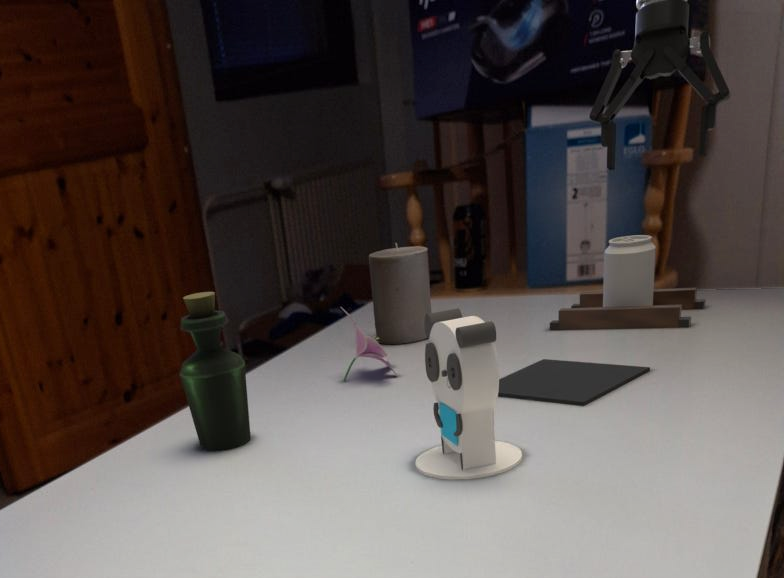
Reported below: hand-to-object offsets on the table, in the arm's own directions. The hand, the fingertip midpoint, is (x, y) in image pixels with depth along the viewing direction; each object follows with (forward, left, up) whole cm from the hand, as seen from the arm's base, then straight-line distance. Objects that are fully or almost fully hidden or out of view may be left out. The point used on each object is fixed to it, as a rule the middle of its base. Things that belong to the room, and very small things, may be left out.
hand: (655, 162), depth 145 cm
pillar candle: (+16, +38, -21) cm, 46 cm away
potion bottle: (-15, +82, -21) cm, 86 cm away
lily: (-2, +54, -21) cm, 58 cm away
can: (-6, +10, -21) cm, 24 cm away
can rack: (-6, +10, -21) cm, 24 cm away
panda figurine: (-43, +64, -21) cm, 80 cm away
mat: (-27, +39, -21) cm, 52 cm away
